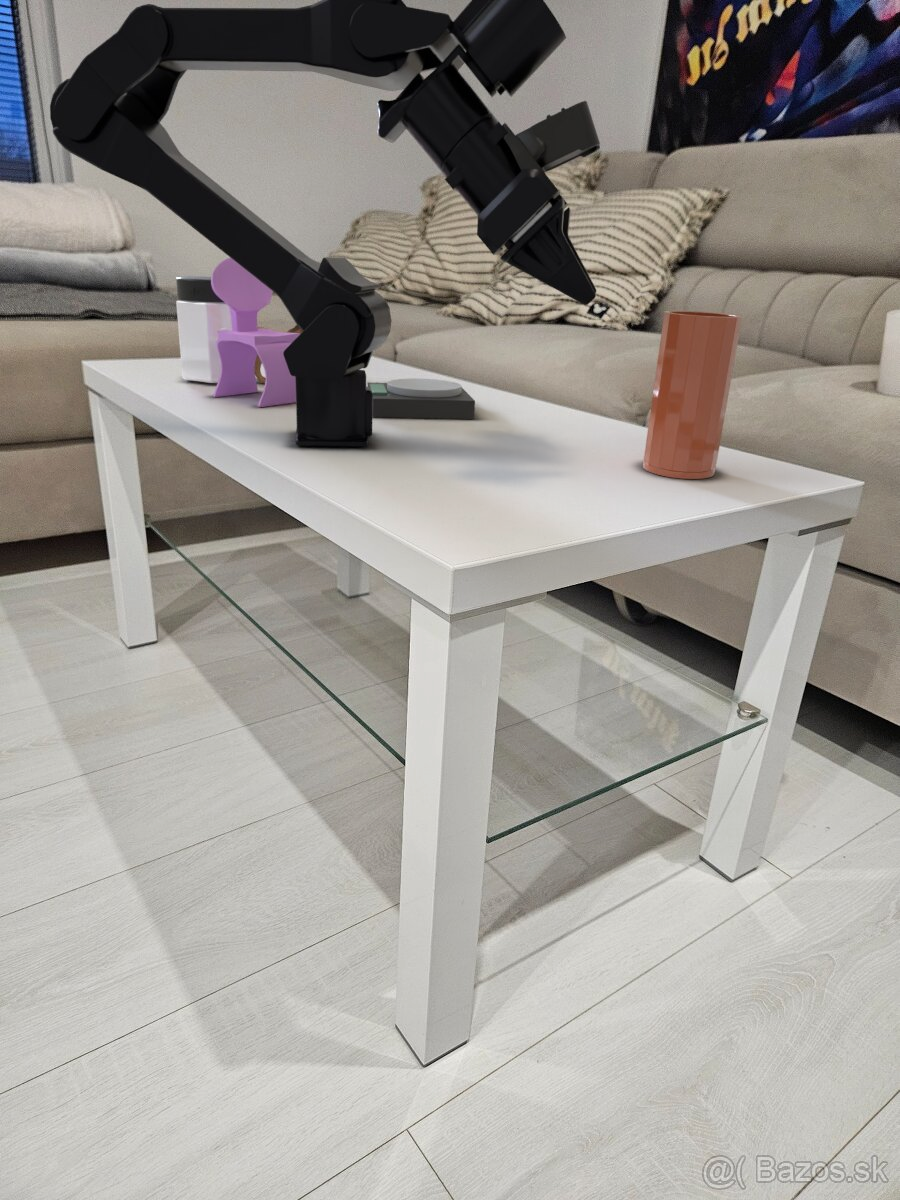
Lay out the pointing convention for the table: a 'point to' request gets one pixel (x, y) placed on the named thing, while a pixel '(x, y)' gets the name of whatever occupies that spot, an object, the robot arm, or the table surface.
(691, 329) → the cup
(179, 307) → the jar
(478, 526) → the table surface
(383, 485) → the table surface
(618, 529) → the table surface
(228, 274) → the toy chair
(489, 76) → the robot arm
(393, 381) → the scale
